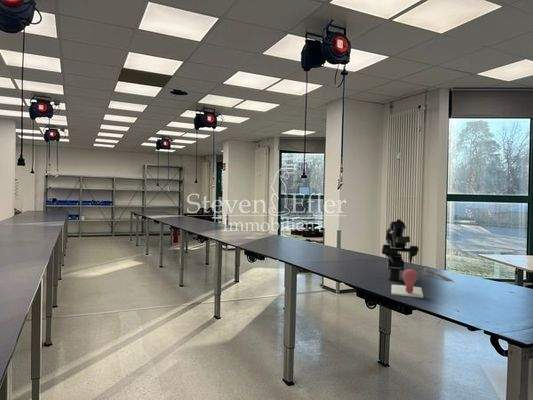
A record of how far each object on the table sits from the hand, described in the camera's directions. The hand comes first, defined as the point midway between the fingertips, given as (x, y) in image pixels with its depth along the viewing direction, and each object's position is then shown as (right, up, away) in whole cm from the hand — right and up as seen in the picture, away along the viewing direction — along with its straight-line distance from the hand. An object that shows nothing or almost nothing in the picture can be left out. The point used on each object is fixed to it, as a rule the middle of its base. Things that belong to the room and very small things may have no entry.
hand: (401, 262), depth 211 cm
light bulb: (-1, -13, -13) cm, 18 cm away
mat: (0, -14, -7) cm, 16 cm away
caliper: (+31, -14, +27) cm, 44 cm away
